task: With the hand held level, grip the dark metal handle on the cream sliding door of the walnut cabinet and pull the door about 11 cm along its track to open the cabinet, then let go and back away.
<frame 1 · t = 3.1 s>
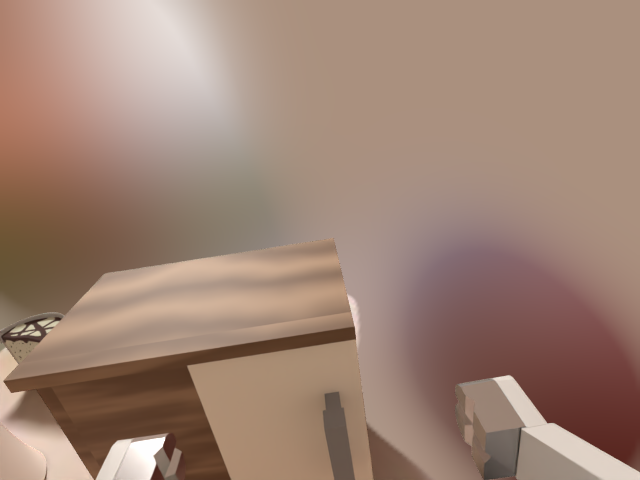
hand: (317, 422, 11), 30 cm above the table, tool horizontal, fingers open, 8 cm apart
cabinet: (254, 443, 44), on the table
sliding door: (292, 450, 31), point 11 cm above the table, slide at 0.0 cm
food container: (69, 371, 61), on the table
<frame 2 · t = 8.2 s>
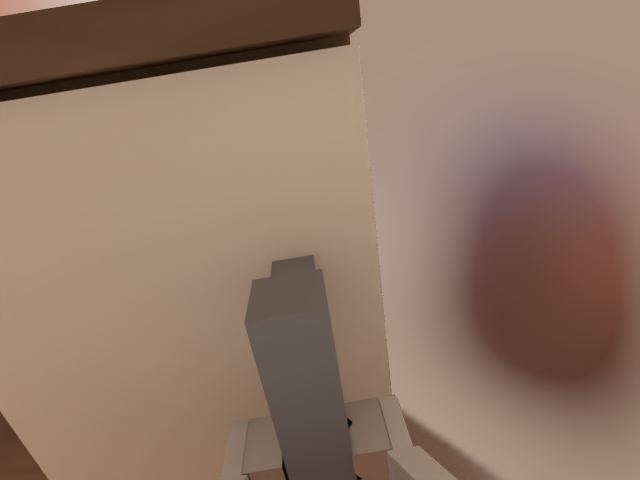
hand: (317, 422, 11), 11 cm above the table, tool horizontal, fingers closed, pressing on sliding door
cabinet: (177, 430, 24), on the table
sliding door: (187, 425, 11), point 11 cm above the table, slide at 0.0 cm, touching gripper
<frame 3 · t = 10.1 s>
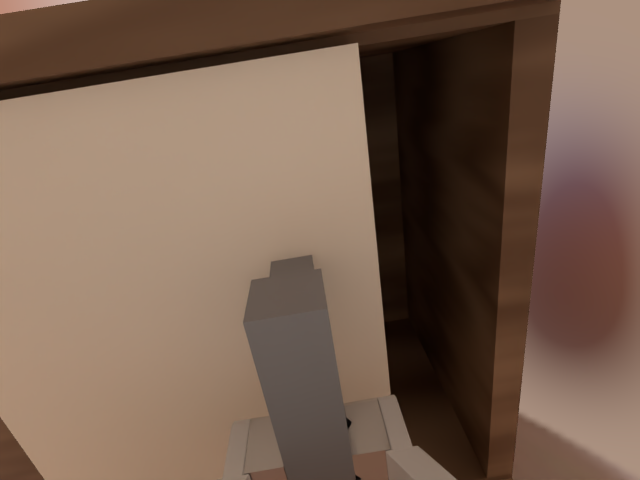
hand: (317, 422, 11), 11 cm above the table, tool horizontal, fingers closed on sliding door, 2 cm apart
cabinet: (260, 417, 24), on the table
sliding door: (185, 426, 11), point 11 cm above the table, slide at 5.7 cm, touching gripper
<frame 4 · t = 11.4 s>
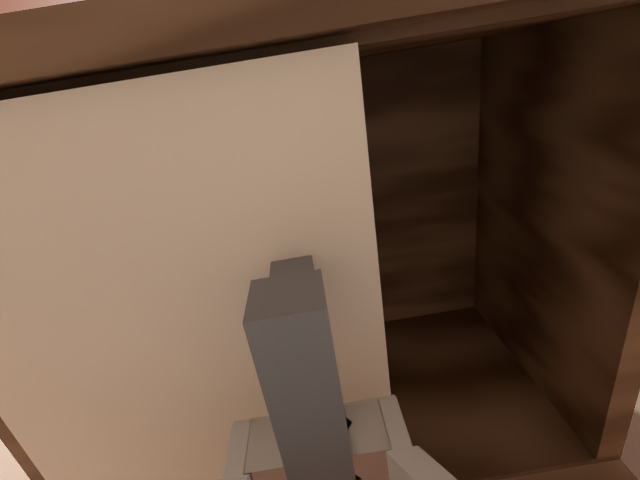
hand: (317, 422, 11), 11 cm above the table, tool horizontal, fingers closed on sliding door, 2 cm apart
cabinet: (338, 404, 24), on the table
sliding door: (185, 426, 11), point 11 cm above the table, slide at 10.9 cm, touching gripper
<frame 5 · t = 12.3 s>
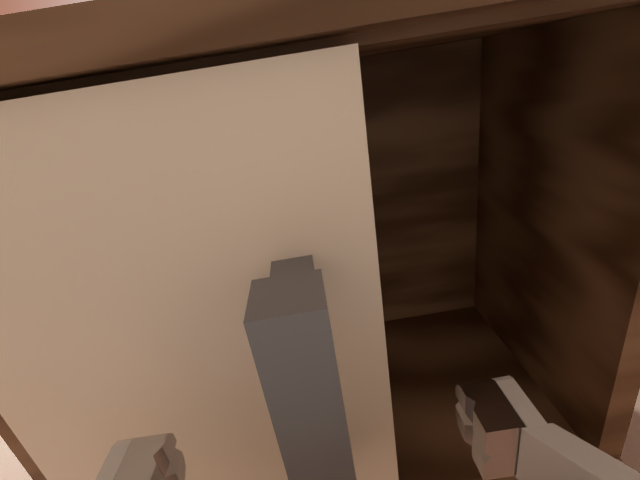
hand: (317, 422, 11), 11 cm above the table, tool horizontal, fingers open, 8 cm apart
cabinet: (338, 403, 24), on the table
sliding door: (186, 425, 11), point 11 cm above the table, slide at 10.9 cm
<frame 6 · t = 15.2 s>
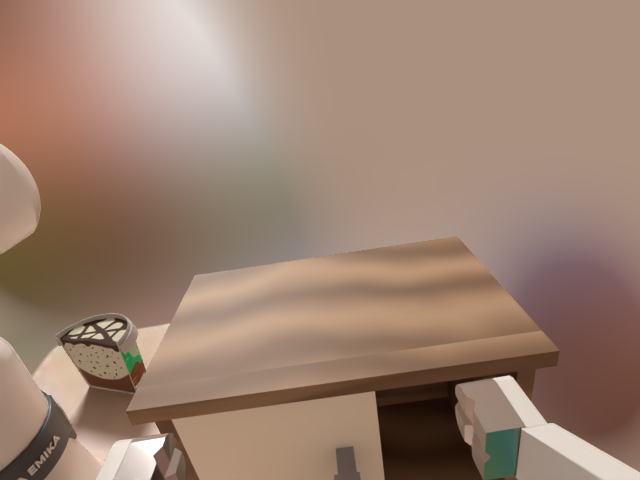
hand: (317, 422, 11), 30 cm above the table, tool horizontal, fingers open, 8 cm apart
cabinet: (356, 466, 39), on the table
food container: (128, 375, 57), on the table
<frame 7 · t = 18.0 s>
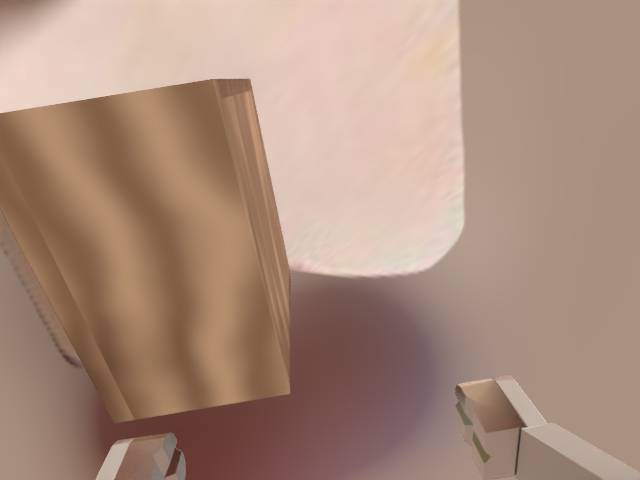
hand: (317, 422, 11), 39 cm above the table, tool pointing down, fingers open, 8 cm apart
cabinet: (218, 196, 48), on the table
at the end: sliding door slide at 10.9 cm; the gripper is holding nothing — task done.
